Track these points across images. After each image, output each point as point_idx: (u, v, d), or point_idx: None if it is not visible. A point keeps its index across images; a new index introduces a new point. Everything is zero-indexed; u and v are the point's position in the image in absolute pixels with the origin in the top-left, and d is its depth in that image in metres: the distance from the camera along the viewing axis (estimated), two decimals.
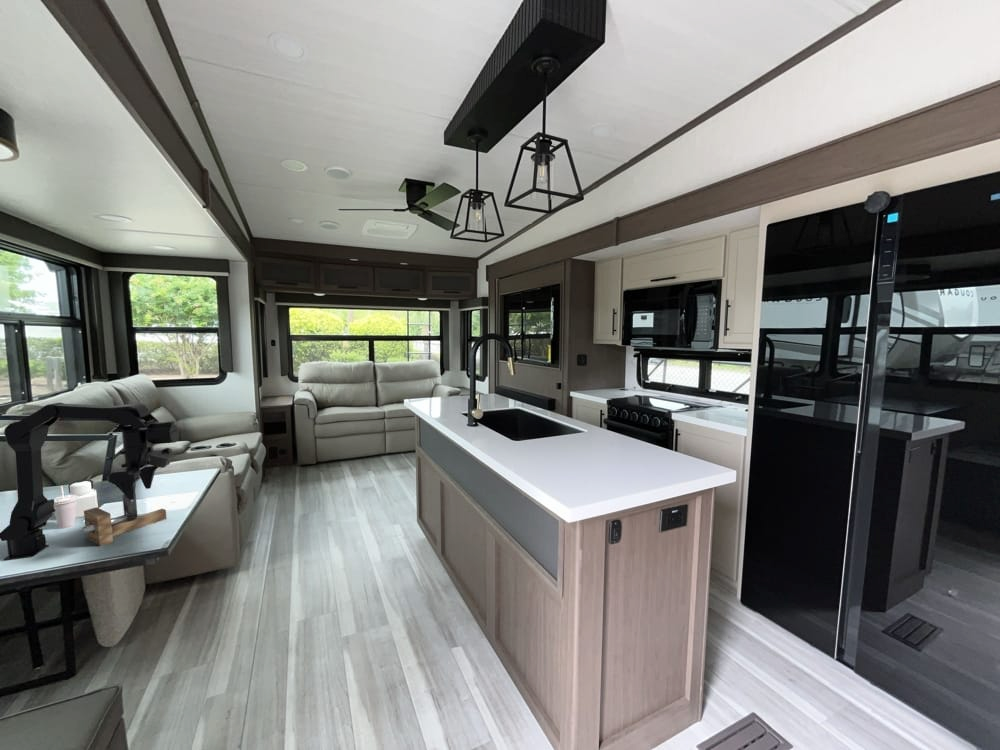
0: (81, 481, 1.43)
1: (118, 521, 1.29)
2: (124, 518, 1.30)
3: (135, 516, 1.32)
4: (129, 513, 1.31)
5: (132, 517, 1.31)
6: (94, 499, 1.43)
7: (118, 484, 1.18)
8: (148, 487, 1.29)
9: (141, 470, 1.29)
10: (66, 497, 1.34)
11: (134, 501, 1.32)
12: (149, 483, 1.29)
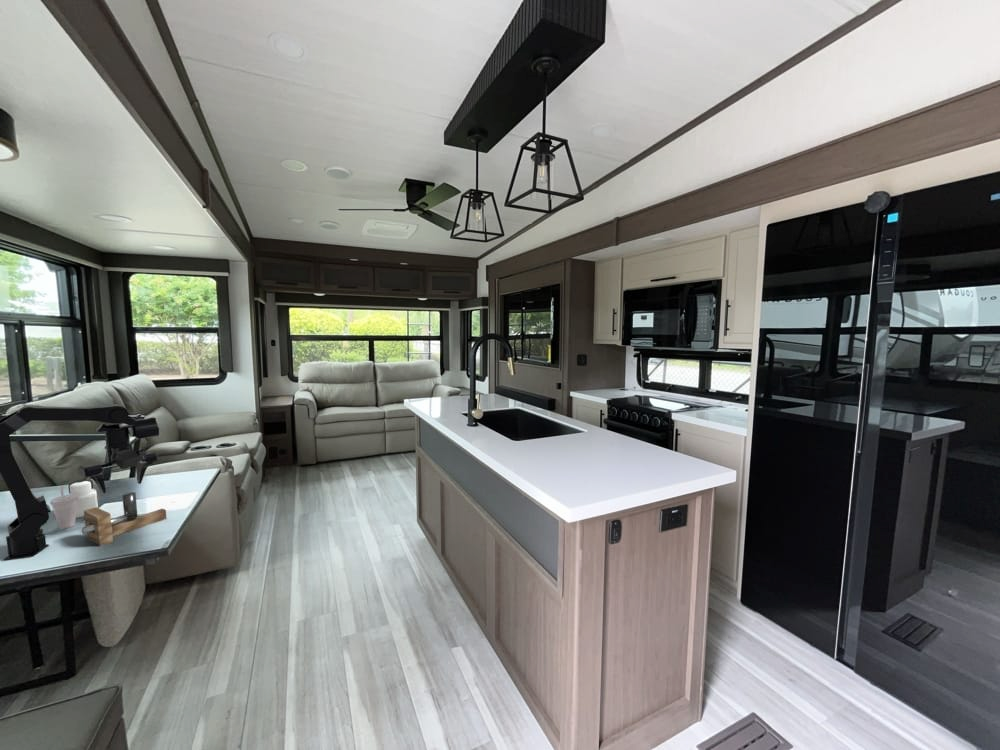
0: (81, 481, 1.43)
1: (118, 521, 1.29)
2: (124, 518, 1.30)
3: (135, 516, 1.32)
4: (129, 513, 1.31)
5: (132, 517, 1.31)
6: (94, 499, 1.43)
7: None
8: (139, 482, 1.38)
9: (137, 465, 1.38)
10: (66, 497, 1.34)
11: (134, 501, 1.32)
12: (139, 479, 1.37)
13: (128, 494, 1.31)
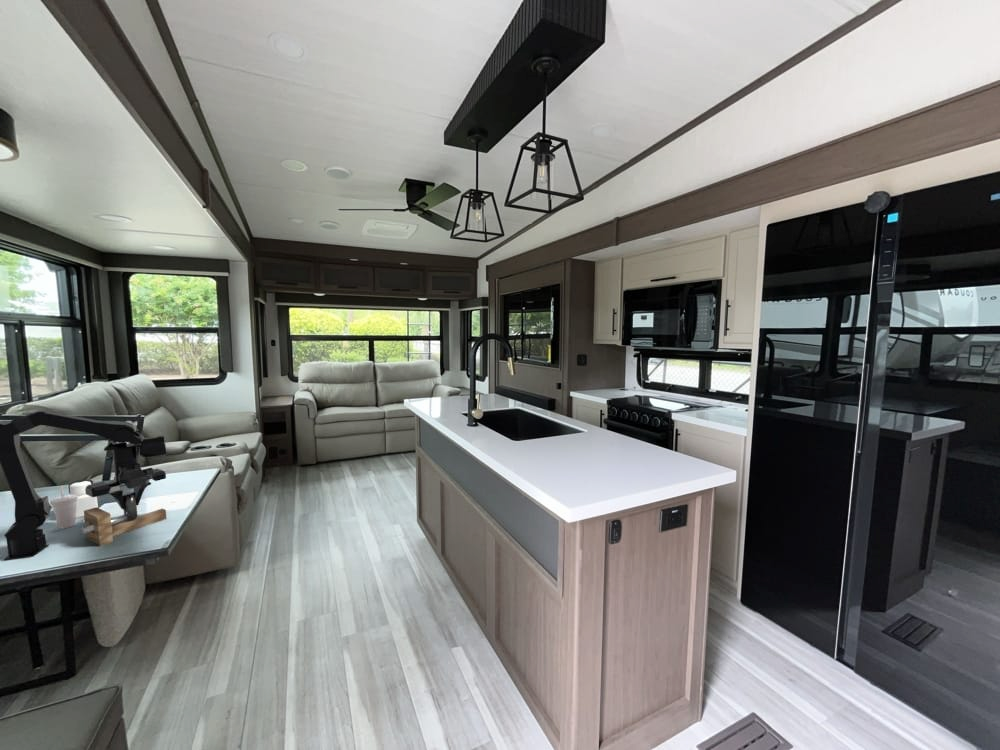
0: (81, 481, 1.43)
1: (118, 521, 1.29)
2: (124, 518, 1.30)
3: (135, 516, 1.32)
4: (129, 513, 1.31)
5: (132, 517, 1.31)
6: (94, 499, 1.43)
7: None
8: None
9: None
10: (66, 497, 1.34)
11: (134, 501, 1.32)
12: (136, 500, 1.33)
13: (128, 494, 1.31)
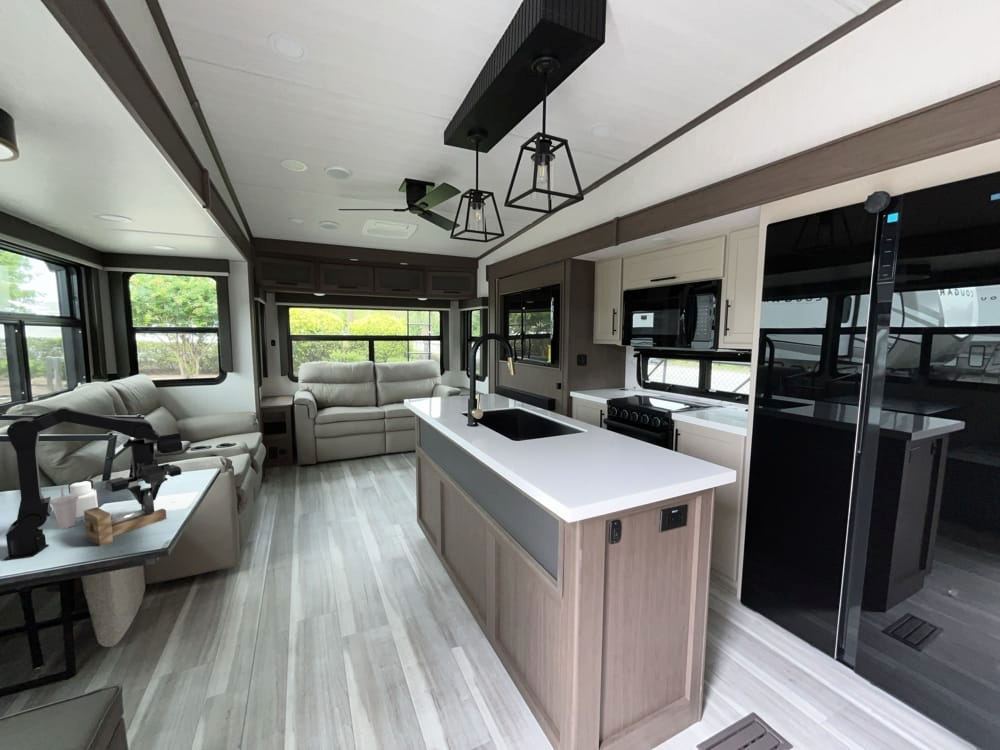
0: (81, 481, 1.43)
1: (136, 515, 1.33)
2: (142, 513, 1.34)
3: (152, 511, 1.36)
4: (146, 508, 1.35)
5: (149, 512, 1.35)
6: (94, 499, 1.43)
7: None
8: (153, 499, 1.37)
9: None
10: (66, 497, 1.34)
11: (151, 496, 1.36)
12: (153, 495, 1.37)
13: (145, 489, 1.35)
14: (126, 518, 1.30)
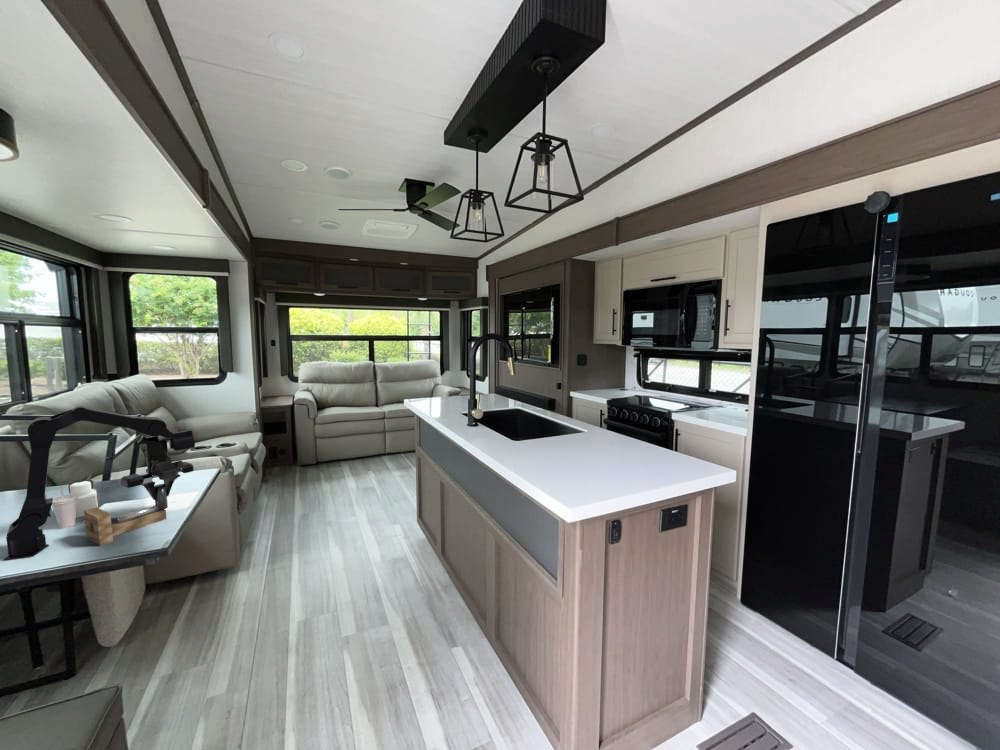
0: (81, 481, 1.43)
1: (150, 511, 1.36)
2: (156, 508, 1.37)
3: (165, 506, 1.40)
4: (160, 503, 1.38)
5: (163, 507, 1.39)
6: (94, 499, 1.43)
7: None
8: (167, 495, 1.41)
9: None
10: (66, 497, 1.34)
11: (165, 492, 1.39)
12: (166, 491, 1.40)
13: (159, 485, 1.38)
14: (141, 513, 1.34)
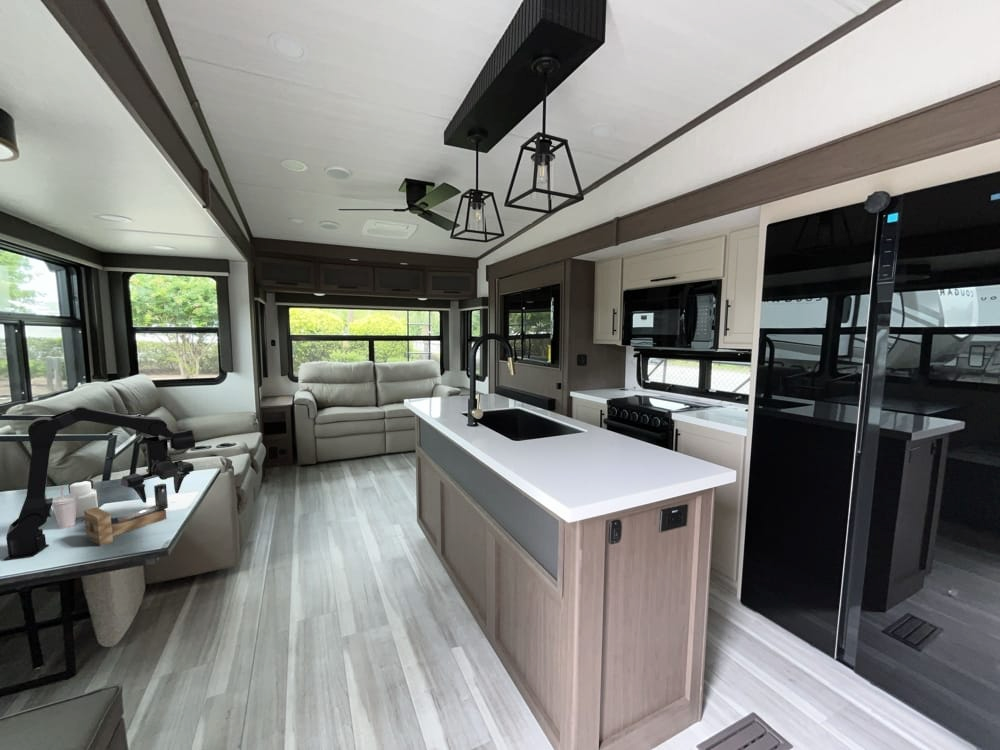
0: (81, 481, 1.43)
1: (150, 511, 1.36)
2: (156, 508, 1.37)
3: (166, 506, 1.40)
4: (160, 503, 1.38)
5: (163, 507, 1.39)
6: (94, 499, 1.43)
7: None
8: (176, 492, 1.43)
9: None
10: (66, 497, 1.34)
11: (165, 492, 1.39)
12: (176, 488, 1.43)
13: (159, 485, 1.39)
14: (141, 513, 1.34)
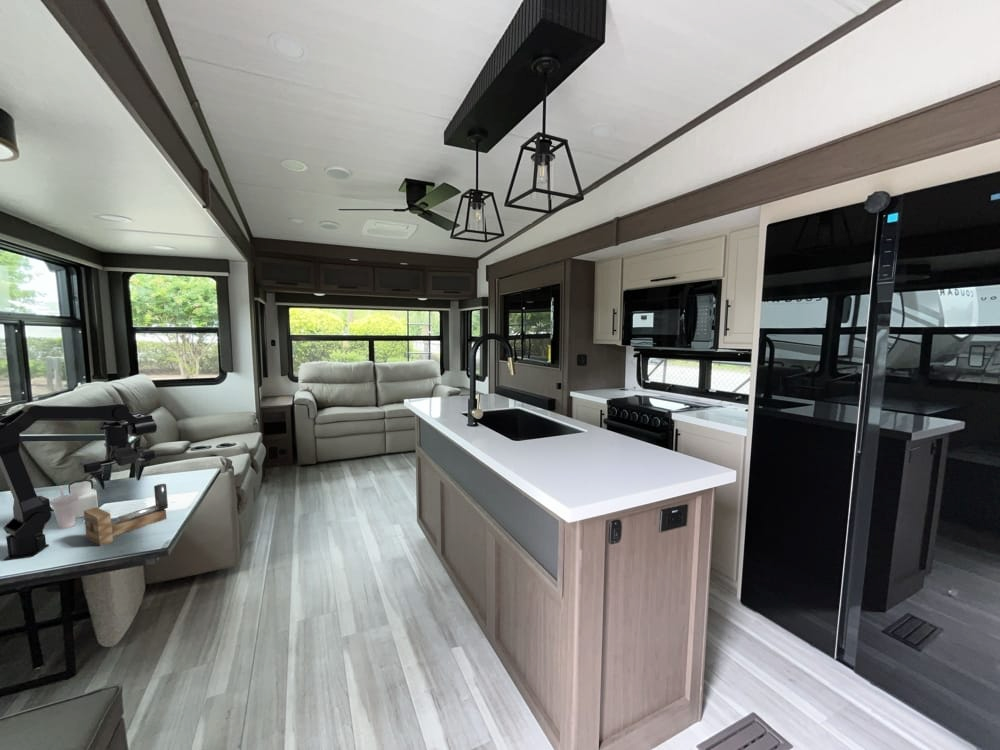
0: (81, 481, 1.43)
1: (150, 511, 1.36)
2: (156, 508, 1.37)
3: (166, 506, 1.40)
4: (160, 503, 1.38)
5: (163, 507, 1.39)
6: (94, 499, 1.43)
7: None
8: (138, 479, 1.41)
9: (136, 462, 1.42)
10: (66, 497, 1.34)
11: (165, 492, 1.39)
12: (137, 476, 1.41)
13: (159, 485, 1.39)
14: (141, 513, 1.34)
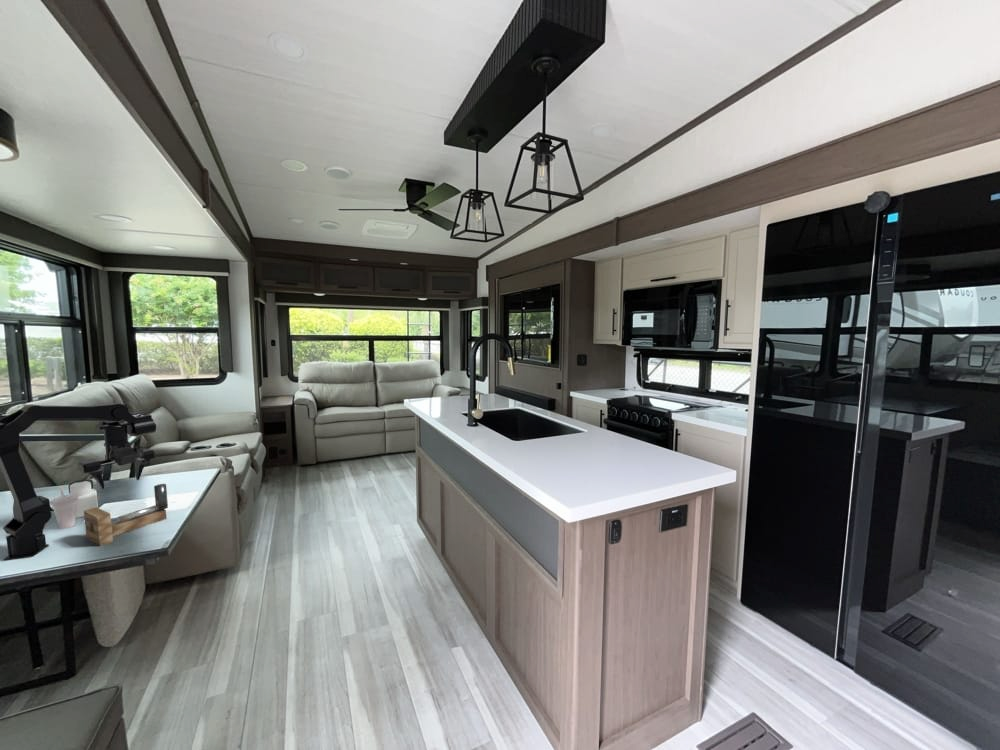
0: (81, 481, 1.43)
1: (150, 511, 1.36)
2: (156, 508, 1.37)
3: (166, 506, 1.40)
4: (160, 503, 1.38)
5: (163, 507, 1.39)
6: (94, 499, 1.43)
7: None
8: (137, 479, 1.41)
9: (135, 462, 1.42)
10: (66, 497, 1.34)
11: (165, 492, 1.39)
12: (137, 475, 1.41)
13: (159, 485, 1.39)
14: (141, 513, 1.34)
